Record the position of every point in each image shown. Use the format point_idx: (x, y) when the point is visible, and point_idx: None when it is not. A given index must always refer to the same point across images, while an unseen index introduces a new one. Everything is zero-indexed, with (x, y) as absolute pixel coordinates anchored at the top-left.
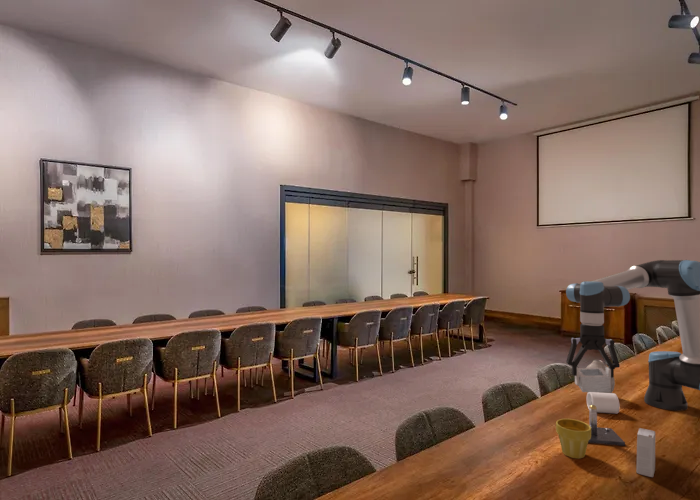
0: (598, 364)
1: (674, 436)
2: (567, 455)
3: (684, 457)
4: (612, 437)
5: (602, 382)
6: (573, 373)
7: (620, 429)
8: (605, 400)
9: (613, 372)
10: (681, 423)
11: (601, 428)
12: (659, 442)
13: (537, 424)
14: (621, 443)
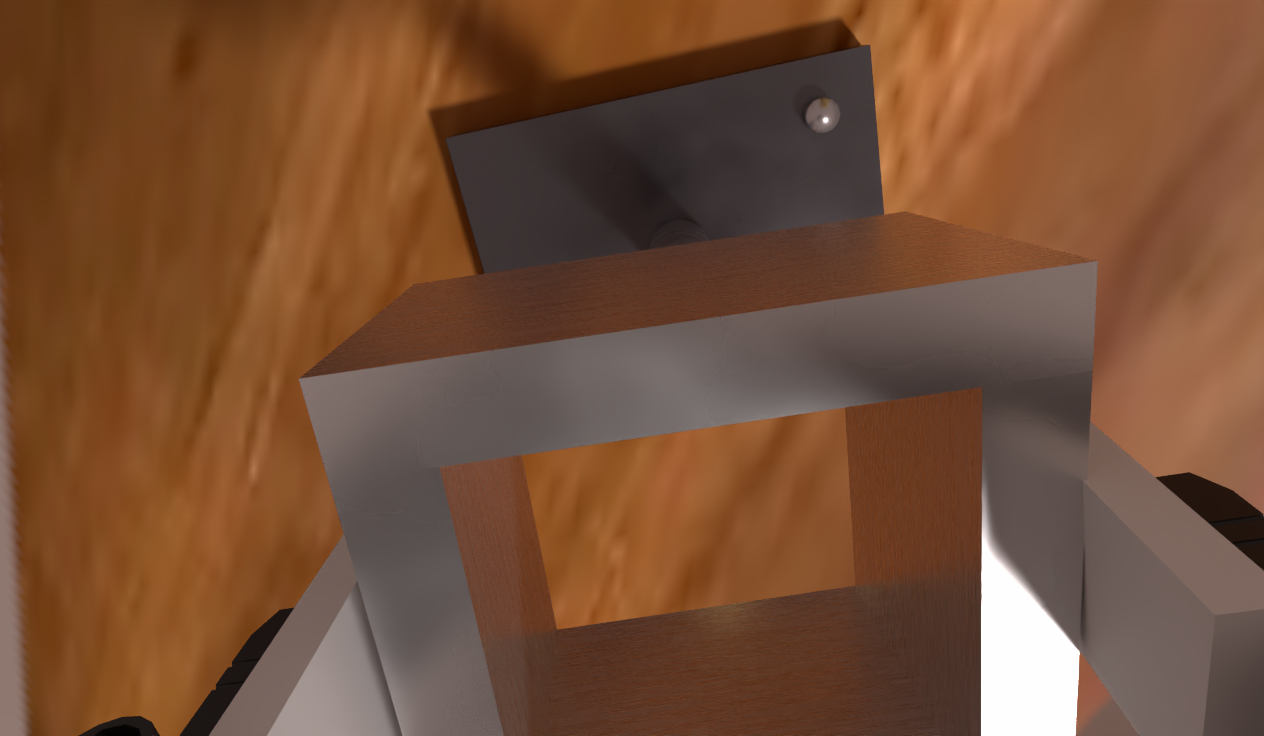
0: None
1: (124, 480)
2: None
3: (47, 88)
4: (534, 214)
5: (525, 304)
6: (1237, 500)
7: None
8: None
9: (202, 710)
10: (93, 712)
11: None
12: (213, 325)
13: (1115, 332)
14: (474, 132)
